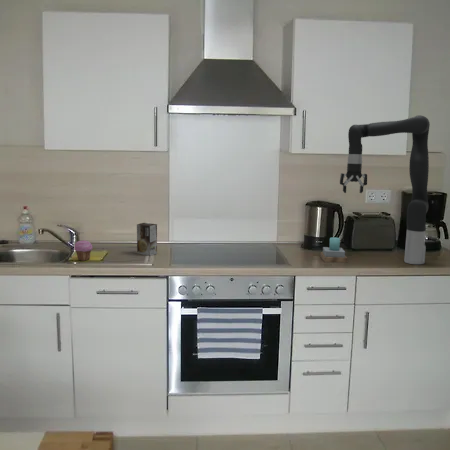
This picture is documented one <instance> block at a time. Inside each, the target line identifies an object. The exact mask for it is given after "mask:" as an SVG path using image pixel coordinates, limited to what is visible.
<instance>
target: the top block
mask: <svg viewBox="0 0 450 450" xmlns="http://www.w3.org/2000/svg"><path fill="white" fill-rule="evenodd" d="M322 252H323V254H324V256H325V257H341V258H345V256H346V251H345V250H344V248H343V247H340V248H339V250H338V251H333V250H329V247H328V246H323V247H322Z"/></svg>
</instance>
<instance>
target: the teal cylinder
mask: <svg viewBox="0 0 450 450" xmlns="http://www.w3.org/2000/svg"><path fill="white" fill-rule="evenodd" d="M340 240H341V238H340V237H335V236H334V237H329V250H333V251H338V250H339V248H341V247H340V246H341V245H340V244H341V241H340Z"/></svg>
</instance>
